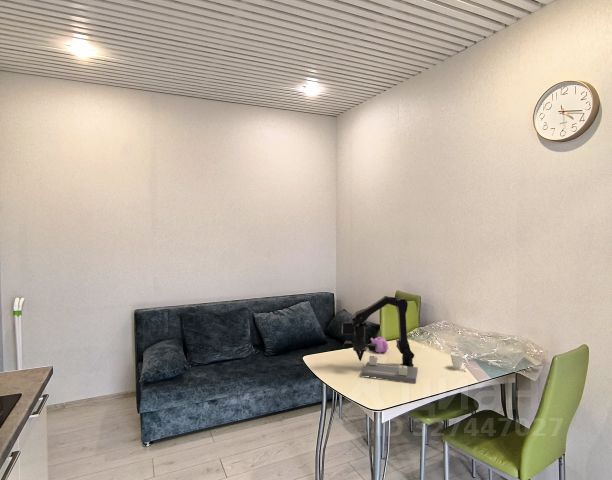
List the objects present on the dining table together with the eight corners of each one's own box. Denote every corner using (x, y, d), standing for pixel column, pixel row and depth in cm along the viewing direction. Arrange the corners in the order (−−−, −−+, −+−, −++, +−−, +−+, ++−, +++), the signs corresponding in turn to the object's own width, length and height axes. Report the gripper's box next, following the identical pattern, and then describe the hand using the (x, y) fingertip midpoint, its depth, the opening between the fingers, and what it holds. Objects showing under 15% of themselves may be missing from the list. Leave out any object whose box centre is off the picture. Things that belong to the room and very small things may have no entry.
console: (367, 366, 214) (367, 361, 213) (417, 371, 204) (417, 367, 204) (361, 376, 199) (361, 372, 198) (415, 383, 189) (415, 378, 189)
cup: (454, 364, 213) (454, 351, 213) (471, 369, 205) (471, 355, 205) (448, 367, 209) (447, 353, 208) (464, 373, 201) (464, 358, 200)
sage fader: (399, 372, 196) (399, 365, 196) (407, 373, 194) (407, 365, 194) (398, 374, 193) (398, 367, 193) (406, 375, 192) (406, 368, 191)
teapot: (381, 355, 230) (381, 341, 230) (365, 349, 243) (364, 335, 243) (393, 352, 236) (392, 338, 236) (376, 346, 249) (376, 332, 248)
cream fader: (370, 362, 211) (370, 355, 211) (377, 363, 210) (377, 356, 210) (369, 364, 208) (369, 357, 208) (376, 365, 207) (376, 358, 207)
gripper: (340, 336, 207) (341, 363, 208) (373, 339, 201) (374, 367, 201) (345, 331, 217) (345, 357, 218) (377, 333, 211) (377, 360, 211)
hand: (360, 360), depth 212 cm, fingers closed
